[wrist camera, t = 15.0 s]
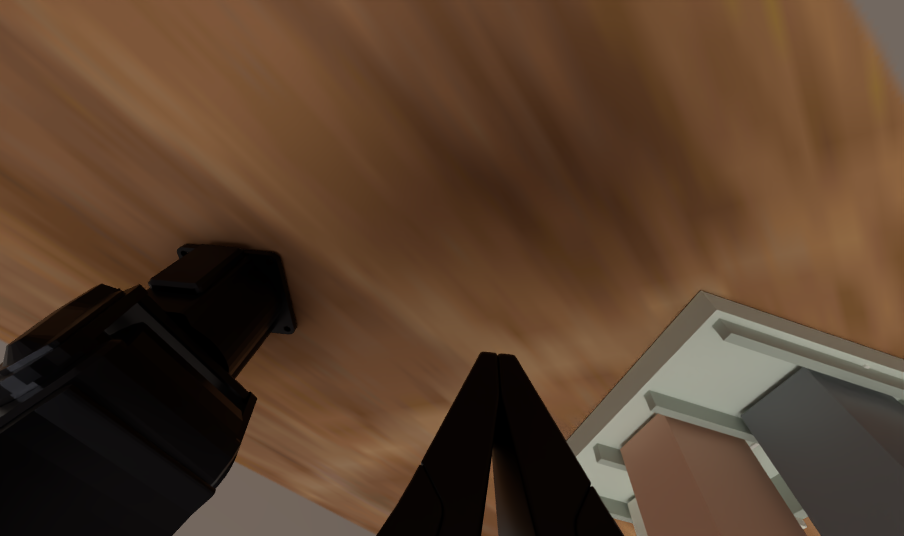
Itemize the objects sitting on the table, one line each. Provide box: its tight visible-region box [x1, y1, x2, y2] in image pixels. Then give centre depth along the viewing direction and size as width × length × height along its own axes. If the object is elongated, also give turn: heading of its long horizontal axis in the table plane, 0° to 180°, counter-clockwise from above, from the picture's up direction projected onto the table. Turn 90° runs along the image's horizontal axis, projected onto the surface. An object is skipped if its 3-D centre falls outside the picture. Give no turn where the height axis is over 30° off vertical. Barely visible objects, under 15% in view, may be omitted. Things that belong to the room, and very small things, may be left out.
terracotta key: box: [620, 414, 807, 536], centre depth 22 cm, size 6×5×8 cm
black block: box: [741, 367, 904, 536], centre depth 19 cm, size 6×5×8 cm
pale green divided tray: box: [567, 291, 904, 529], centre depth 25 cm, size 15×21×5 cm
